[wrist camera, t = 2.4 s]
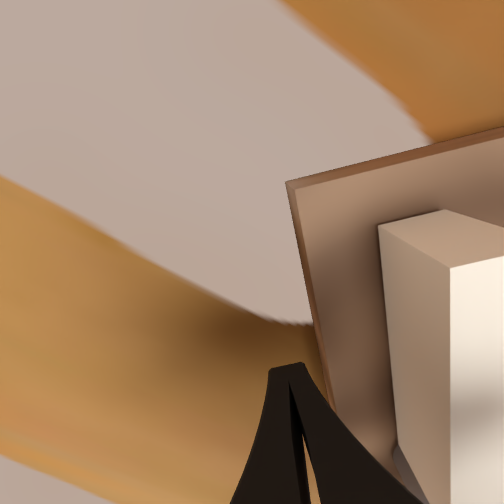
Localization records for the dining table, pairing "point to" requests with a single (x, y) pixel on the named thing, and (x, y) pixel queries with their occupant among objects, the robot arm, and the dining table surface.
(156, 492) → the dining table surface
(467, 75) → the dining table surface
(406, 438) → the folding leg
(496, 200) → the stool seat
